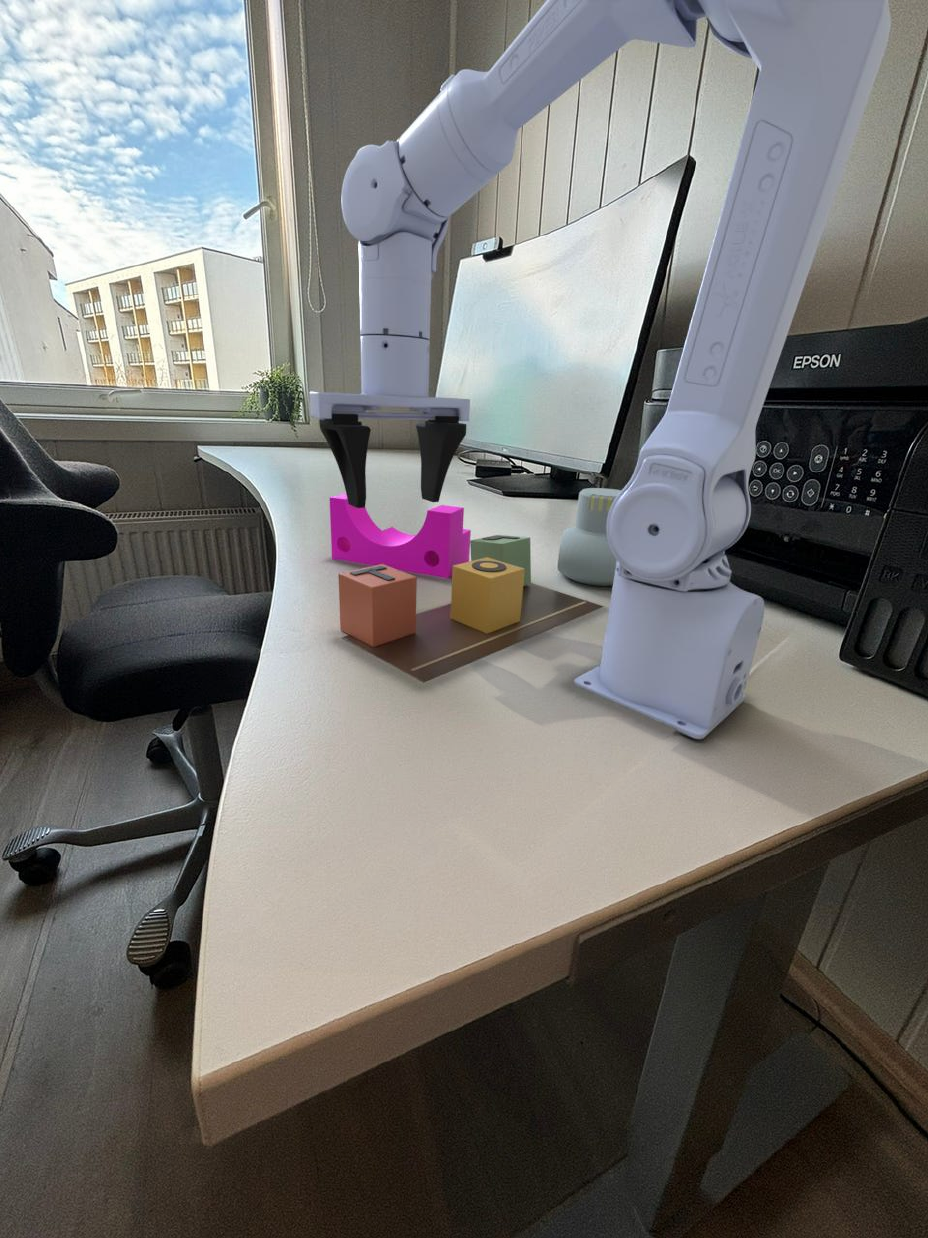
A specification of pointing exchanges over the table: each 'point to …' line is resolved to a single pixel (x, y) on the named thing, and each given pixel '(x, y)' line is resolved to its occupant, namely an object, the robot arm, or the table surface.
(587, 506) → the air freshener
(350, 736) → the table surface
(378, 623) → the orange letter t block
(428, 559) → the toy block
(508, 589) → the yellow cube
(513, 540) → the green square block
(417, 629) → the word board
